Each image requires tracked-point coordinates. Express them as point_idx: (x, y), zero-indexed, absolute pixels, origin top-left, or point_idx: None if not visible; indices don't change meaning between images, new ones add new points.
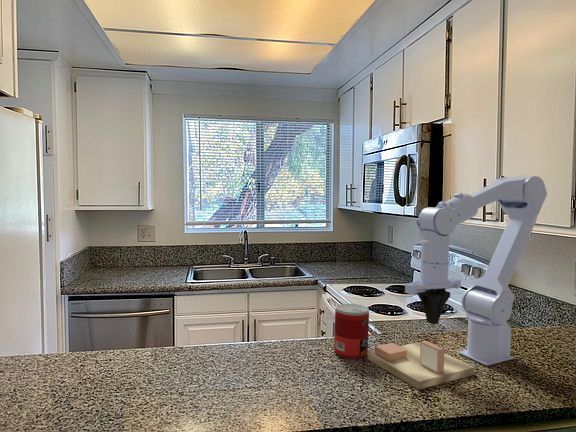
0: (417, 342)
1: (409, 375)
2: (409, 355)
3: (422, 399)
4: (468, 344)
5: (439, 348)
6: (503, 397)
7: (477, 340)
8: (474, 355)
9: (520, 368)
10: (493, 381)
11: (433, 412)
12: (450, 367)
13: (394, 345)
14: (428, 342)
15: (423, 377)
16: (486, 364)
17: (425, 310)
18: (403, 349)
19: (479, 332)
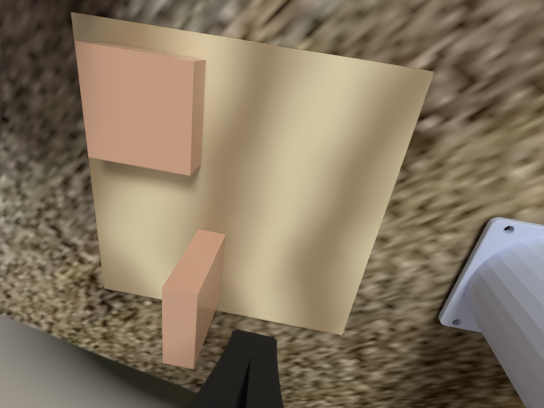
0: (418, 69)
1: (104, 254)
2: (228, 158)
3: (94, 299)
4: (517, 281)
5: (176, 359)
6: None
7: (503, 348)
8: (473, 287)
9: (502, 371)
10: (339, 355)
11: (80, 333)
12: (271, 296)
13: (179, 99)
14: (187, 310)
15: (135, 283)
16: (439, 319)
17: (196, 405)
18: (183, 160)
19: (526, 393)
